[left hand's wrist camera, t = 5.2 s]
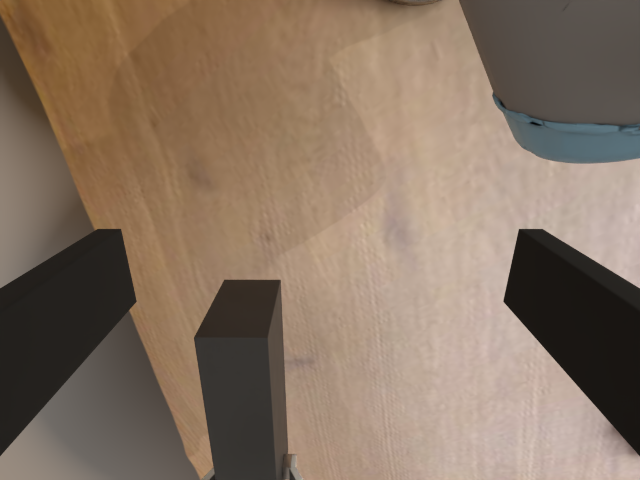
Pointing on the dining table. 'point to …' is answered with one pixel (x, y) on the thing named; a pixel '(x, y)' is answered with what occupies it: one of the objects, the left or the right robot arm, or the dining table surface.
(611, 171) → the dining table surface
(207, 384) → the bar
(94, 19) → the dining table surface
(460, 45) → the dining table surface
